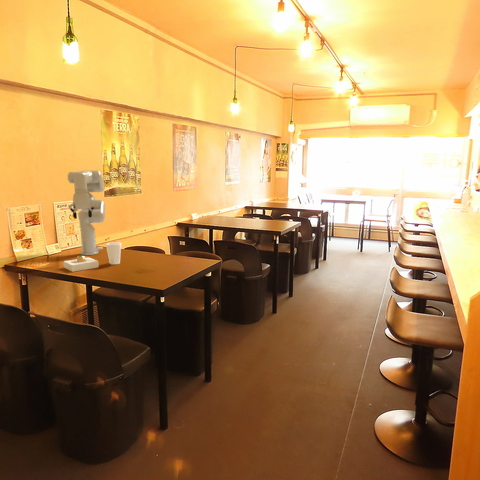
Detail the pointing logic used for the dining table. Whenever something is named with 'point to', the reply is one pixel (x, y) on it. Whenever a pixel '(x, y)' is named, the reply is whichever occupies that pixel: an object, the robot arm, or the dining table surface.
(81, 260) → the brass sleeve
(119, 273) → the dining table surface
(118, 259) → the foam cup
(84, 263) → the plate
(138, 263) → the dining table surface
